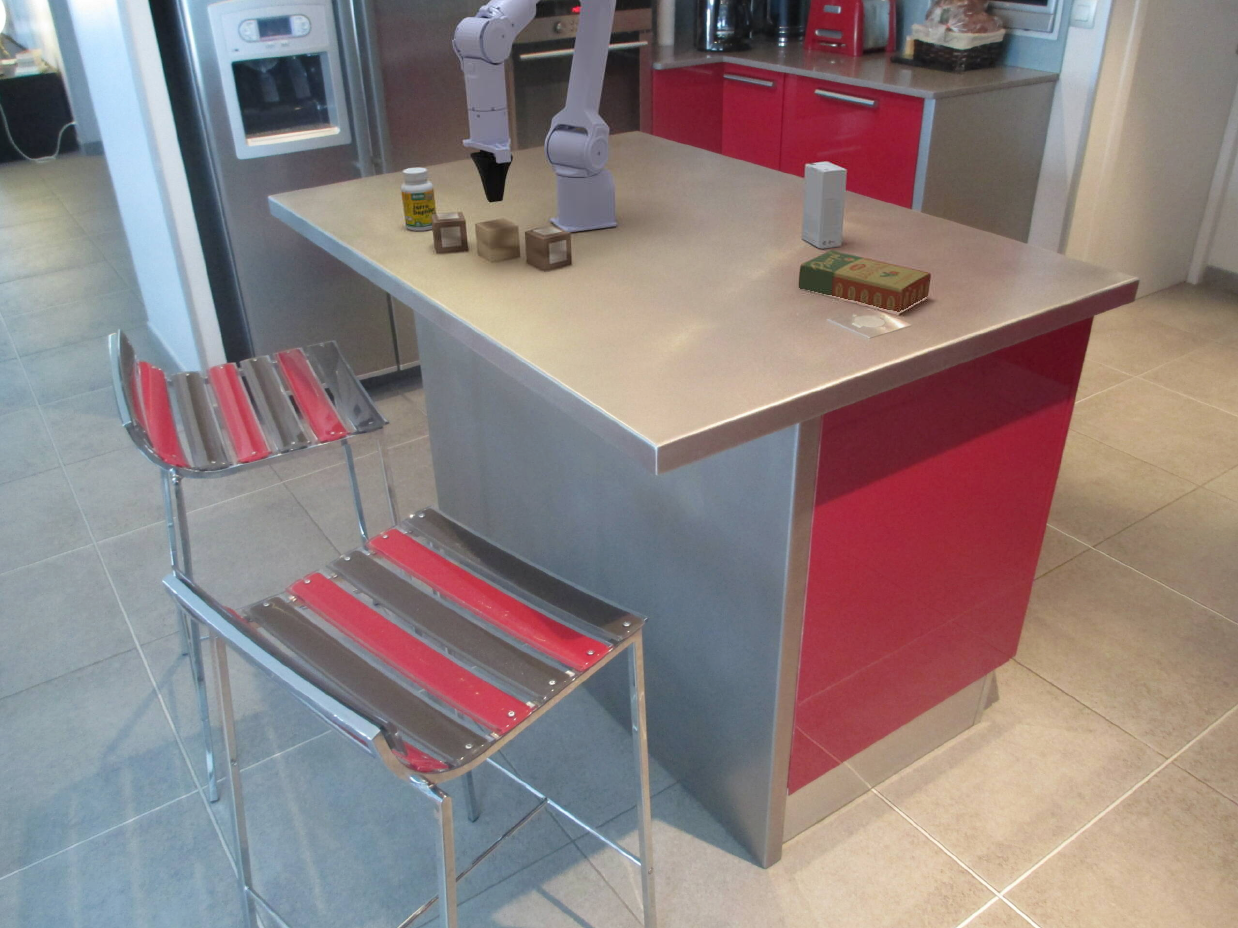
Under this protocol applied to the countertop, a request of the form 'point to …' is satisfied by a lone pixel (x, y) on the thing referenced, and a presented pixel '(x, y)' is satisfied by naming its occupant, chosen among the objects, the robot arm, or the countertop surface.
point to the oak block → (497, 240)
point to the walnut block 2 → (548, 248)
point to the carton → (864, 280)
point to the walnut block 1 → (449, 232)
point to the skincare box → (823, 204)
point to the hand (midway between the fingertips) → (495, 200)
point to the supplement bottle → (417, 199)
